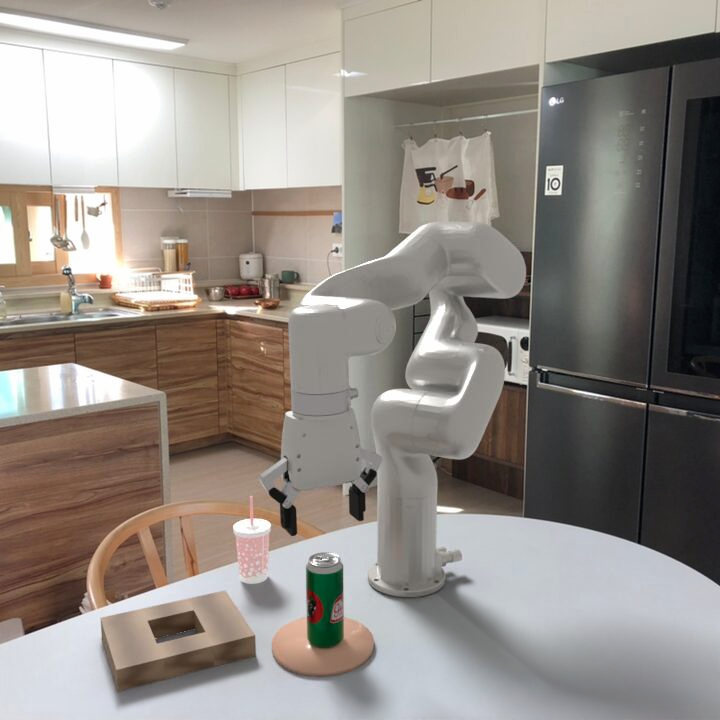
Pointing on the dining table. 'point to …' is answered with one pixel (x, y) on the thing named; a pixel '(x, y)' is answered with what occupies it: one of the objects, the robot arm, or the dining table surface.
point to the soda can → (325, 600)
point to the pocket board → (180, 656)
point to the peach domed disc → (322, 649)
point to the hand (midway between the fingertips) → (324, 524)
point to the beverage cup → (252, 548)
